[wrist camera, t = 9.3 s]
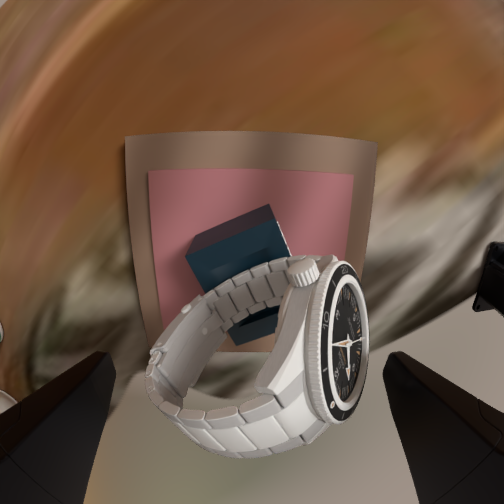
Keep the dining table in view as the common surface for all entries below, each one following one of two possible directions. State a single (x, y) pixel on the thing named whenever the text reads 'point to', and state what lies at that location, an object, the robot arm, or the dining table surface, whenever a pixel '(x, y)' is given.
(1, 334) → the supplement bottle
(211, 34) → the dining table surface
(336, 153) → the pink square tray
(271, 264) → the watch
